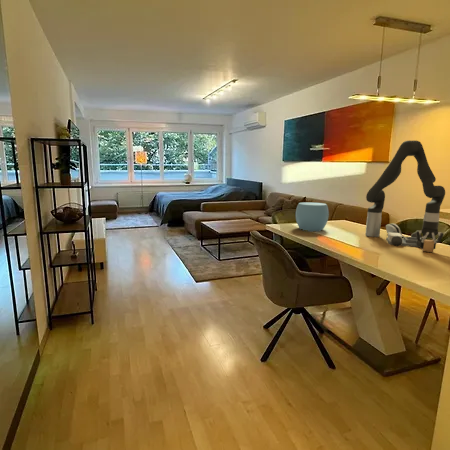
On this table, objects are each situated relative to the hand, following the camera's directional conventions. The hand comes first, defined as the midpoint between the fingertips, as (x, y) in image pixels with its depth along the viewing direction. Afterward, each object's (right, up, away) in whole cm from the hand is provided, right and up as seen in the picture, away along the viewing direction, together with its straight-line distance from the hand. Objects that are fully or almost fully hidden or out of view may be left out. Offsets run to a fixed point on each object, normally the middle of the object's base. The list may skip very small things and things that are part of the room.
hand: (427, 248), depth 191 cm
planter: (-51, +10, +66) cm, 84 cm away
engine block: (0, -1, 0) cm, 1 cm away
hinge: (+4, +6, +46) cm, 46 cm away
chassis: (-1, +2, +21) cm, 21 cm away
